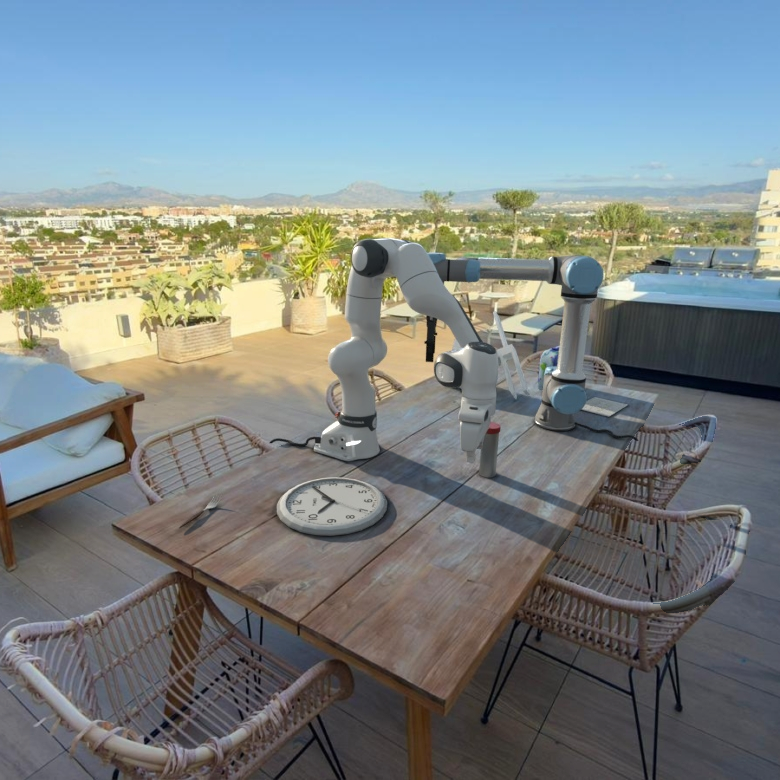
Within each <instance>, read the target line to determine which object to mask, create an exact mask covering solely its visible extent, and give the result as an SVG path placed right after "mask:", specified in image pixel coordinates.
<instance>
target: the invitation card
mask: <svg viewBox="0 0 780 780" xmlns="http://www.w3.org/2000/svg"><path fill="white" fill-rule="evenodd" d="M628 406H629V404H627V403H623V402H618V401H614V400H609V399H605V398H601V397H596V396H593V397H592V398H590V399H587V401H586V404H585V406H584V407H583V408H582V409H581V410H580V411H584V412H587V413H593V414H596V415H600V416H604V417H608V418H609V417H611V416H613V415H614V414H616V413H617V412H619V411H621V410H623V409H624V408H626V407H628Z"/></svg>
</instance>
